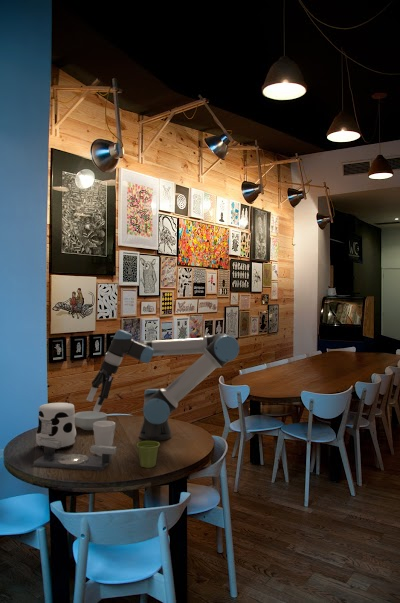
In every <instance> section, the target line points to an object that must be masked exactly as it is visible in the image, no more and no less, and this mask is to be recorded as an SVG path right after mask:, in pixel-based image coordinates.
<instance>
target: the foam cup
mask: <svg viewBox="0 0 400 603" xmlns="http://www.w3.org/2000/svg"><path fill="white" fill-rule="evenodd" d="M92 431H93V437H94V438H93V439H94V445H98V446H114V445H113V443H114V436H115V431H116V421H115V422H114V421H112V420H106V421H98V422H95V423H93V430H92ZM95 454H96V455H95V456H102V454H99V453H95Z"/></svg>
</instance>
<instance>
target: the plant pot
mask: <svg viewBox="0 0 400 603" xmlns="http://www.w3.org/2000/svg"><path fill="white" fill-rule="evenodd" d="M160 446H161V443H160V442H159V441H151V440H142V441H139V442H137V443H136V446H135V447H137V450H138V456H139V466H140V467H141V468H146V469H150V468H154V467H155V466H156V465H157V464H156V463H157V456H158V450H159V447H160Z"/></svg>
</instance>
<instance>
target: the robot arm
mask: <svg viewBox="0 0 400 603" xmlns="http://www.w3.org/2000/svg"><path fill="white" fill-rule="evenodd" d="M239 353H240V344H239V342H238V340H237V339H236V338H235V337H234V335H233V336H232V335H230V334H228V333H224V332H223V333H222V332H220V333H216V334H209V335H203V337H193V338H175V339H174V338H173V339H157V340H155V339H154V340H135V339H133V334H132V333H130V332H128V331H126V330H123V329H117V330H116V332H115V334H114V336H113V338H112V340H111V343H110V345H109V347H108V349H107V352H106V353H105V354H104V355H105V356H104V359H103V361H102V363H101V366H100V369H99V371H98V373H97V374H96V375H95V377H94V379H93V380H92V381H91V388H90V390H89V392H88V395H87V396H86V401H88V402H91V403H92V402H93V401H94V399H95V398H94V397H95V396H96V393H97V391H98V389H99V388H100V385H101V388H100V393H99V395H98V398H97V400H96V402H95V405H94V406H93V409H92V411H96V412H101V408H102V406H103V403H104V402H105V400H106V399H107V400H108V397H109V395H110V394H109V393H110V390H111V386H112V382H113V380H114V376H112V374H114V375H115V374H117V372H118V369H119V366H120V365H121V363H122V361H123V359H124V356H125V355H126V356H129V357H131V358H133V359H134V360H138V361H140V362H141V363H145V364H149V363H150V362H151V360H152V358H153V357H159V356H175V355H176V356H178V355H195V354H196V355H197V354H202V355H201V356H200V357H199V358H198V359H197V360H195V361H194V362H193V363H192V364H191V365H190V366H189V367H188V368H187V369H185V371H183V372H182V373H181V374H180V375H179V376H178V377H177V378H175V379H174V380H173V381H172V382H171V383H170V384H169V385H168V386H166V388H147V389H144V393H143V397H144V399H143V400H144V401H143V407H142V412H143V422H142V425H141V428H140V430H139V437H140V438H141V439H142V440H144V441H156V442H159V441H166V440H169V439H170V438H171V437H172V430H171V427H170V423H169V421H168V420H169V417H170V415H171V414H172V413H173V412H174V411H176V410H177V408H178V406H179V405H178V404H179V402H180V401H181V400H182V399H184V398H185V397H186V396H187V395H188V394H189V393H191V391H192V390H194V389H195V388H196V387H197V386H198V385H199V384H200V383H202V382H203V381H204V380H205V379H206V378H207V377H208V376H209V375H210V374H211V373H213V371H215V369H217V368H219V369H220V368H221V369H222V368H223V367H224V366H225V365H226V364H228V363H229V362H232V361H233V360H235V359H236V358H237V356H239Z"/></svg>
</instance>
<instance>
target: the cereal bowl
mask: <svg viewBox="0 0 400 603" xmlns="http://www.w3.org/2000/svg"><path fill="white" fill-rule="evenodd" d="M107 418H108V414H107V413H105V412H103V411H99V412H96V411H93V410H88V411H87V410H86V411H84V410H83V411H78V412H76V413H75V420H74V424H75V427H78V428H80V429H82V430H84V431H94V430H93V423H95V422H98V421H107V420H108V419H107Z"/></svg>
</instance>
